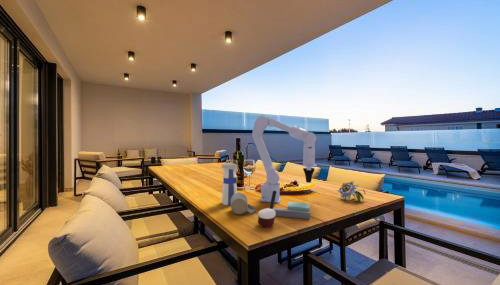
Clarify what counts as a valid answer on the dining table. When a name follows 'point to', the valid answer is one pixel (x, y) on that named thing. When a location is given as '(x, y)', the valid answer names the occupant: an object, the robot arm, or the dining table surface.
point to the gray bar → (292, 213)
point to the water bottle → (229, 182)
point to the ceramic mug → (240, 204)
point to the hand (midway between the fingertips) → (308, 182)
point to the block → (298, 206)
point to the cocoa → (267, 214)
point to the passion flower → (350, 191)
